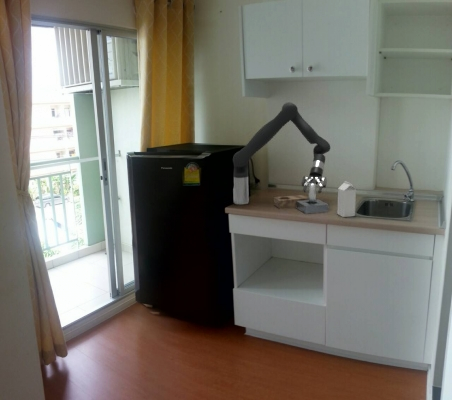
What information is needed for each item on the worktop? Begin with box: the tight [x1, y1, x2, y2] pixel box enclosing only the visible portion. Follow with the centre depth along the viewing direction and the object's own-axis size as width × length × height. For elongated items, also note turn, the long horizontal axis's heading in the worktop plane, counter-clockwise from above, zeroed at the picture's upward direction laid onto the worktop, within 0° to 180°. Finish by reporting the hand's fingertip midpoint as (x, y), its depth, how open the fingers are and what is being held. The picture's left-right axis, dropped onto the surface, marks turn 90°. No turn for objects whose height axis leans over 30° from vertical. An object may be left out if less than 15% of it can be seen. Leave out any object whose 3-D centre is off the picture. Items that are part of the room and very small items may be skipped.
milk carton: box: [336, 180, 357, 218], centre depth 229 cm, size 7×7×19 cm
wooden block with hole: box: [273, 194, 309, 210], centre depth 256 cm, size 20×10×5 cm, turn 102°
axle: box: [308, 183, 317, 204], centre depth 243 cm, size 4×4×16 cm
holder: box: [295, 198, 329, 215], centre depth 244 cm, size 14×14×4 cm
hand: (311, 192), depth 241 cm, fingers open, 8 cm apart
